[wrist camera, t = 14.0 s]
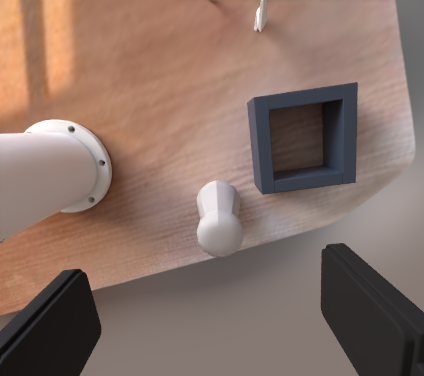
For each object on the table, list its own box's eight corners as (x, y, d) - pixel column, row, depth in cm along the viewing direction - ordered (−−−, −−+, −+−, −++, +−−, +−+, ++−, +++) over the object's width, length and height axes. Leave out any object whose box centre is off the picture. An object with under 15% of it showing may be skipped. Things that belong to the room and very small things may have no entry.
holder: (254, 184, 32) (262, 194, 27) (247, 102, 29) (253, 97, 25) (334, 174, 32) (355, 182, 27) (333, 89, 29) (358, 82, 24)
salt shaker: (246, 191, 32) (267, 231, 20) (224, 222, 34) (230, 279, 21) (211, 169, 32) (209, 196, 19) (190, 202, 33) (175, 249, 20)
